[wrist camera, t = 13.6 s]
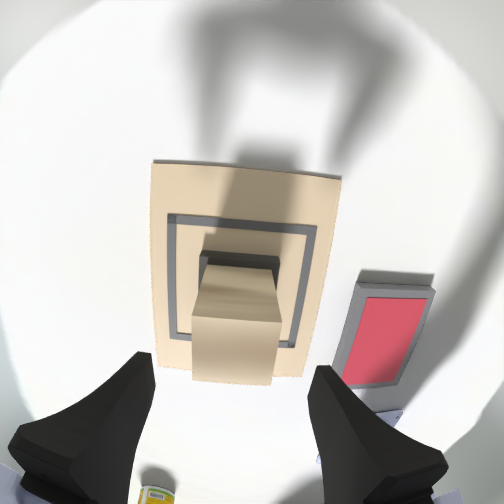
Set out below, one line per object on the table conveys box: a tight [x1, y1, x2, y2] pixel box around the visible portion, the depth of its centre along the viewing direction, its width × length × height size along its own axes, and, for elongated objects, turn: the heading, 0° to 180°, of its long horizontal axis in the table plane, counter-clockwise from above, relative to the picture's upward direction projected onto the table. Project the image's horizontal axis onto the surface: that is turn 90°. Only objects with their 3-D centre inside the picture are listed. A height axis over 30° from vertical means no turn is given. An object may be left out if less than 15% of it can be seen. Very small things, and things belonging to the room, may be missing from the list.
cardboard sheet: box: [150, 163, 342, 377], centre depth 20 cm, size 16×12×1 cm
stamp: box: [191, 250, 282, 386], centre depth 17 cm, size 5×5×7 cm
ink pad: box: [332, 282, 436, 389], centre depth 22 cm, size 10×7×1 cm
